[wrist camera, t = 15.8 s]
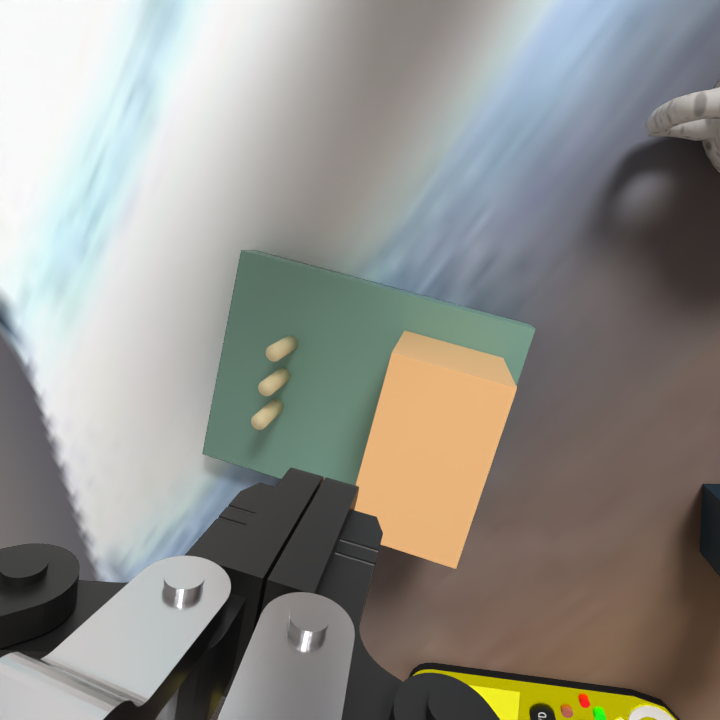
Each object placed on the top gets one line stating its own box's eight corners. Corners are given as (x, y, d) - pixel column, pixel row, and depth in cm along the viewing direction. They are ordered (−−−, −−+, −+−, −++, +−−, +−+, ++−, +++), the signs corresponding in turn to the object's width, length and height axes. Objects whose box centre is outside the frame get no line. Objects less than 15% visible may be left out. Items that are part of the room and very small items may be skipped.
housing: (503, 357, 29) (516, 388, 23) (455, 504, 31) (456, 568, 25) (404, 330, 30) (391, 352, 23) (364, 476, 32) (342, 531, 26)
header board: (530, 324, 31) (544, 338, 26) (464, 520, 34) (466, 566, 29) (253, 249, 32) (218, 250, 28) (215, 442, 36) (178, 473, 31)
